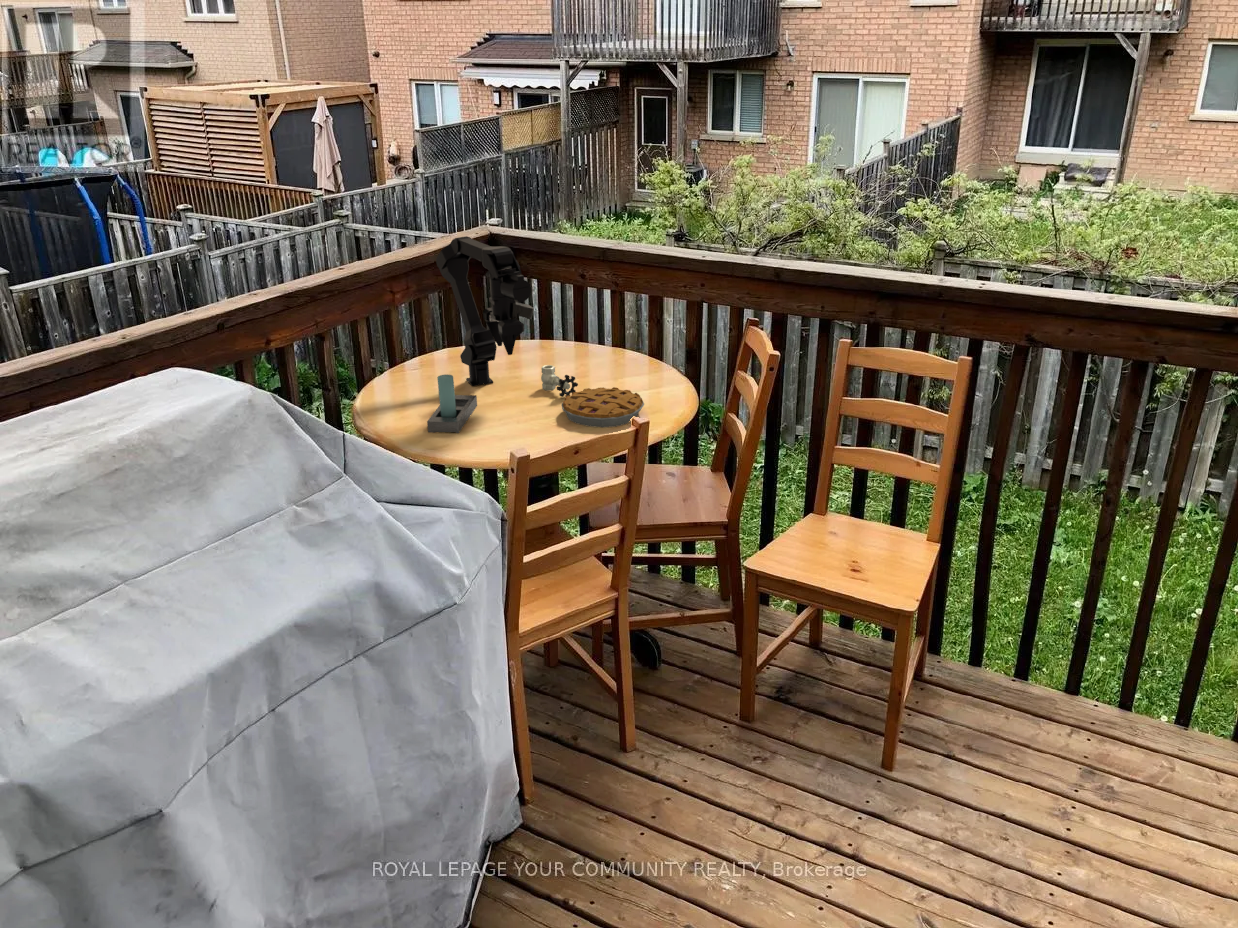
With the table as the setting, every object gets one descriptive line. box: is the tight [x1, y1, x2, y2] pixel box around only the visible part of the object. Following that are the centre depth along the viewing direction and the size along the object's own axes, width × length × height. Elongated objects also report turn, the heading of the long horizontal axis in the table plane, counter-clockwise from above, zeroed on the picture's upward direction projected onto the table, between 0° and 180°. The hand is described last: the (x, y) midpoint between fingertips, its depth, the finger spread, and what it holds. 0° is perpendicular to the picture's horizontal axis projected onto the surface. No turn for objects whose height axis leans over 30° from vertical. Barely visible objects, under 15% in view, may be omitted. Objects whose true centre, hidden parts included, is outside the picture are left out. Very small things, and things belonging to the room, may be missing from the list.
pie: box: [560, 386, 645, 428], centre depth 265 cm, size 22×22×5 cm
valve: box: [540, 364, 579, 398], centre depth 281 cm, size 7×7×12 cm
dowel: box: [437, 374, 457, 418], centre depth 258 cm, size 4×4×13 cm
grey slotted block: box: [426, 394, 478, 434], centre depth 264 cm, size 20×8×3 cm, turn 174°
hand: (504, 350), depth 276 cm, fingers open, 9 cm apart
